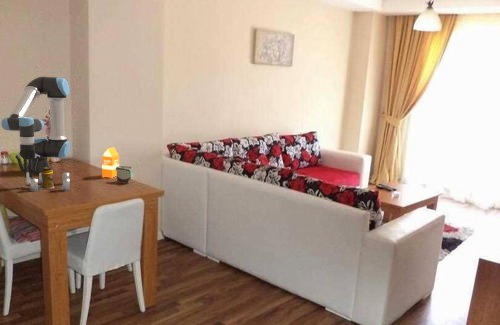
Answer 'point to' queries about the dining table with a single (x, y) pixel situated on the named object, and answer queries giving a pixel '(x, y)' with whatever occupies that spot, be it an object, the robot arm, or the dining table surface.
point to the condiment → (47, 178)
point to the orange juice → (110, 163)
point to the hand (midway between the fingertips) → (28, 183)
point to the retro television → (123, 174)
